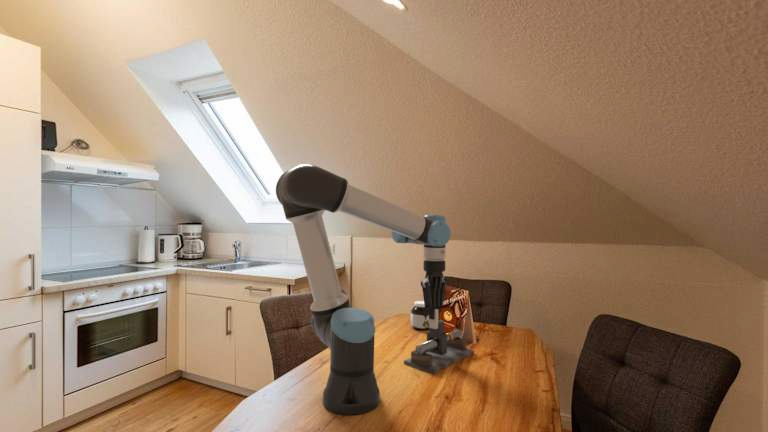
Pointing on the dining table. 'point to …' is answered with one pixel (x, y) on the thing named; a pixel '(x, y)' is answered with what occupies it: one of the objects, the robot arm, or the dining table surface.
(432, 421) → the dining table surface
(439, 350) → the dark grey tall block
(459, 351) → the pipe rig
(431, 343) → the pipe
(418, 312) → the spread jar
